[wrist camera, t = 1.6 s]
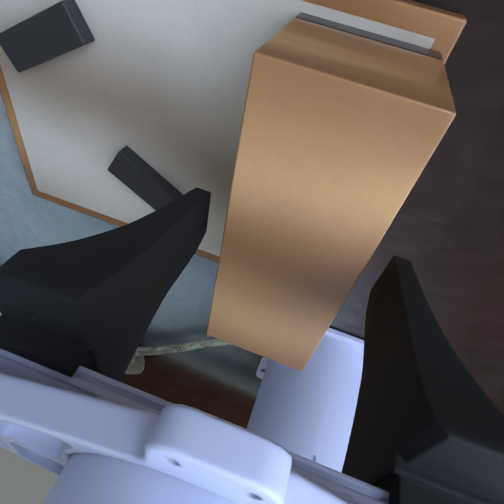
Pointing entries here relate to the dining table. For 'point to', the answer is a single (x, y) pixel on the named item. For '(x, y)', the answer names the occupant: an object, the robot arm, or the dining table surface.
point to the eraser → (320, 177)
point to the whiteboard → (166, 92)
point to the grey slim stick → (167, 351)
